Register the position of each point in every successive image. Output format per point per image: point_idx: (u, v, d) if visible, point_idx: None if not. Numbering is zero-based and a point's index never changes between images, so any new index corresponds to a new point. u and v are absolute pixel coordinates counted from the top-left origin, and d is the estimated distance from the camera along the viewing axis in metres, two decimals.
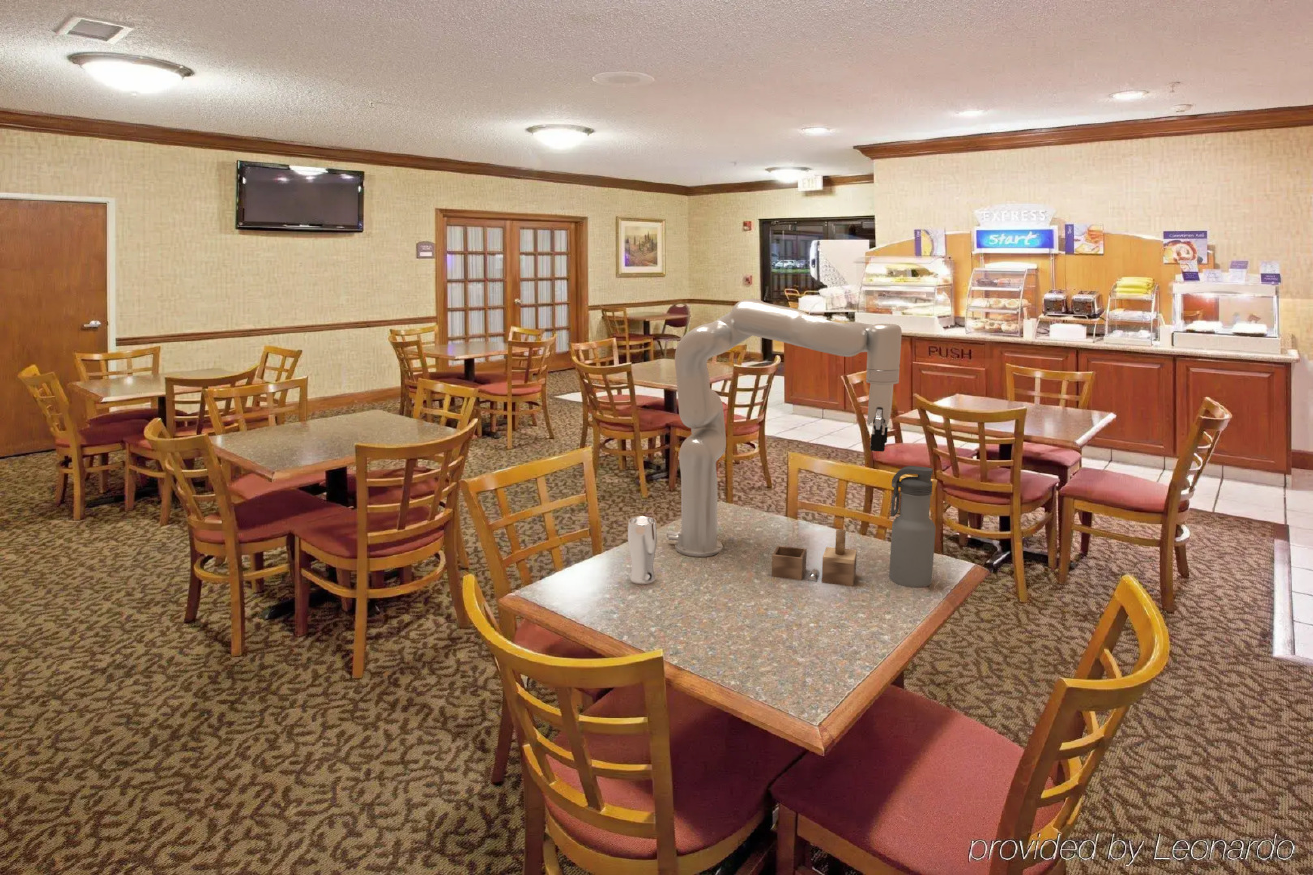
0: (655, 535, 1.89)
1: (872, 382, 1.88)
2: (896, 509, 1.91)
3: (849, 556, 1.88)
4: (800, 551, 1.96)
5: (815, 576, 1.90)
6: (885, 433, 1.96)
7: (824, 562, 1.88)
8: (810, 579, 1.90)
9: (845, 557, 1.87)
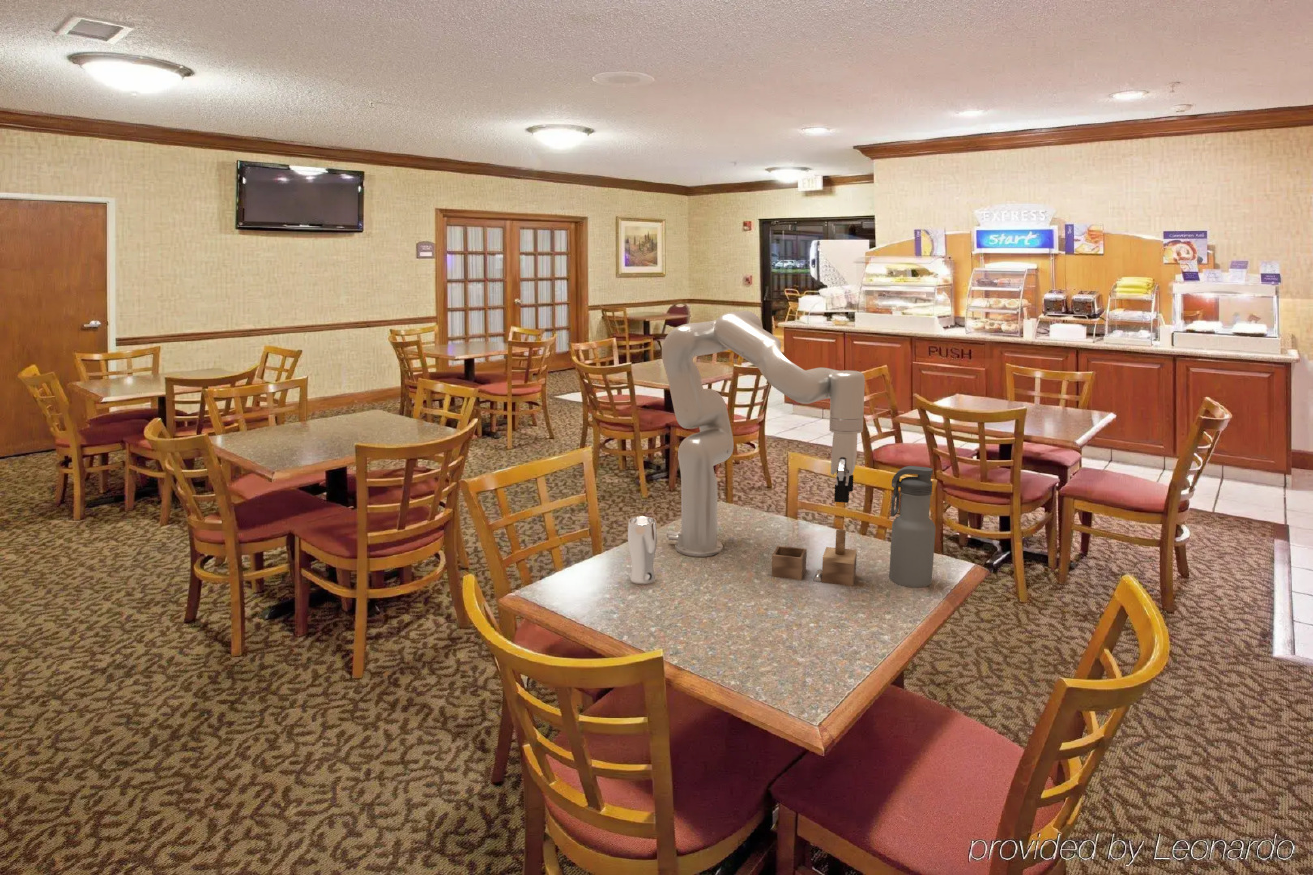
0: (655, 535, 1.89)
1: (835, 431, 1.82)
2: (896, 509, 1.91)
3: (849, 556, 1.88)
4: (800, 551, 1.96)
5: None
6: (851, 481, 1.90)
7: (824, 562, 1.88)
8: (818, 579, 1.89)
9: (845, 557, 1.87)
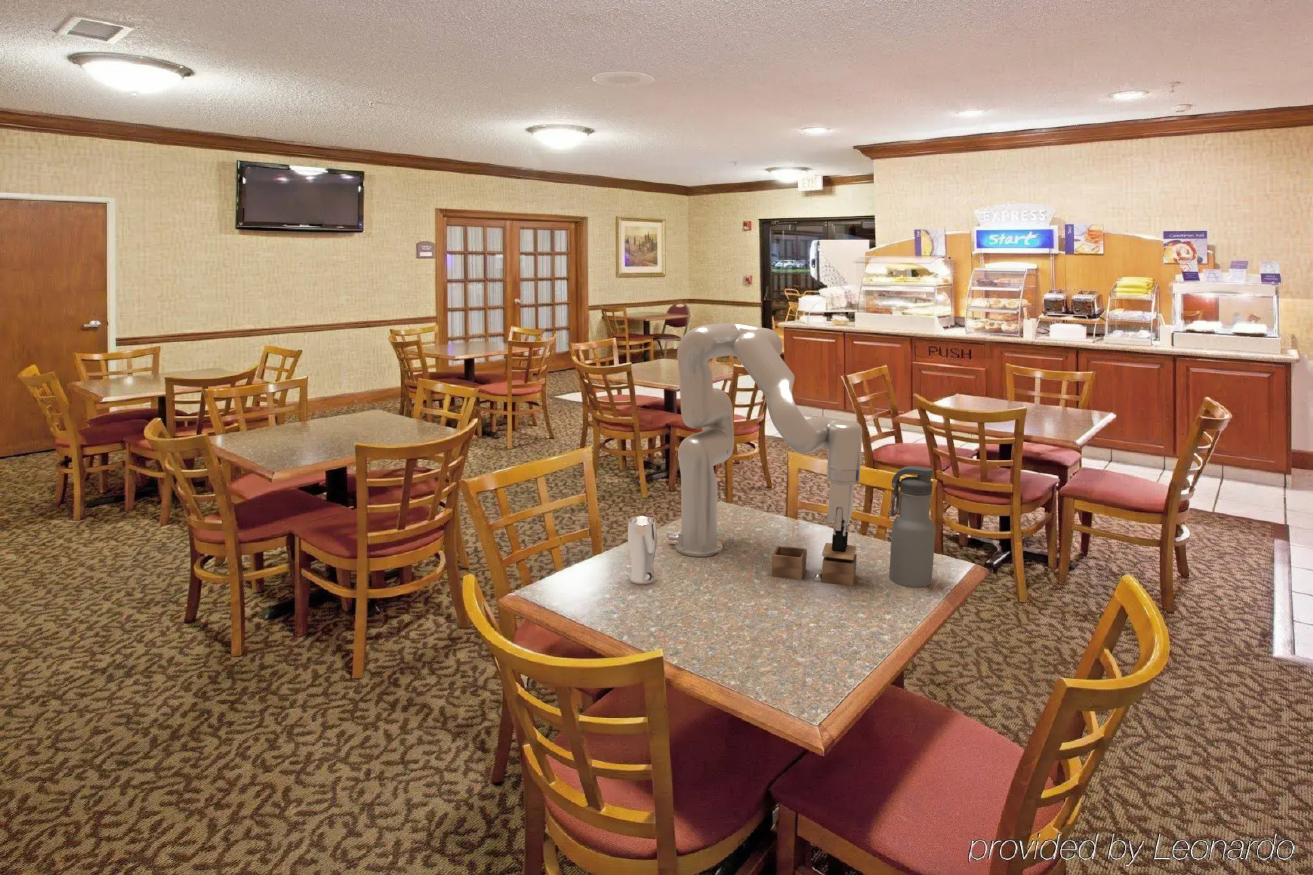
0: (655, 535, 1.89)
1: (832, 481, 1.84)
2: (896, 509, 1.91)
3: (848, 552, 1.88)
4: (800, 551, 1.96)
5: None
6: None
7: (824, 562, 1.88)
8: (818, 579, 1.89)
9: (844, 553, 1.87)
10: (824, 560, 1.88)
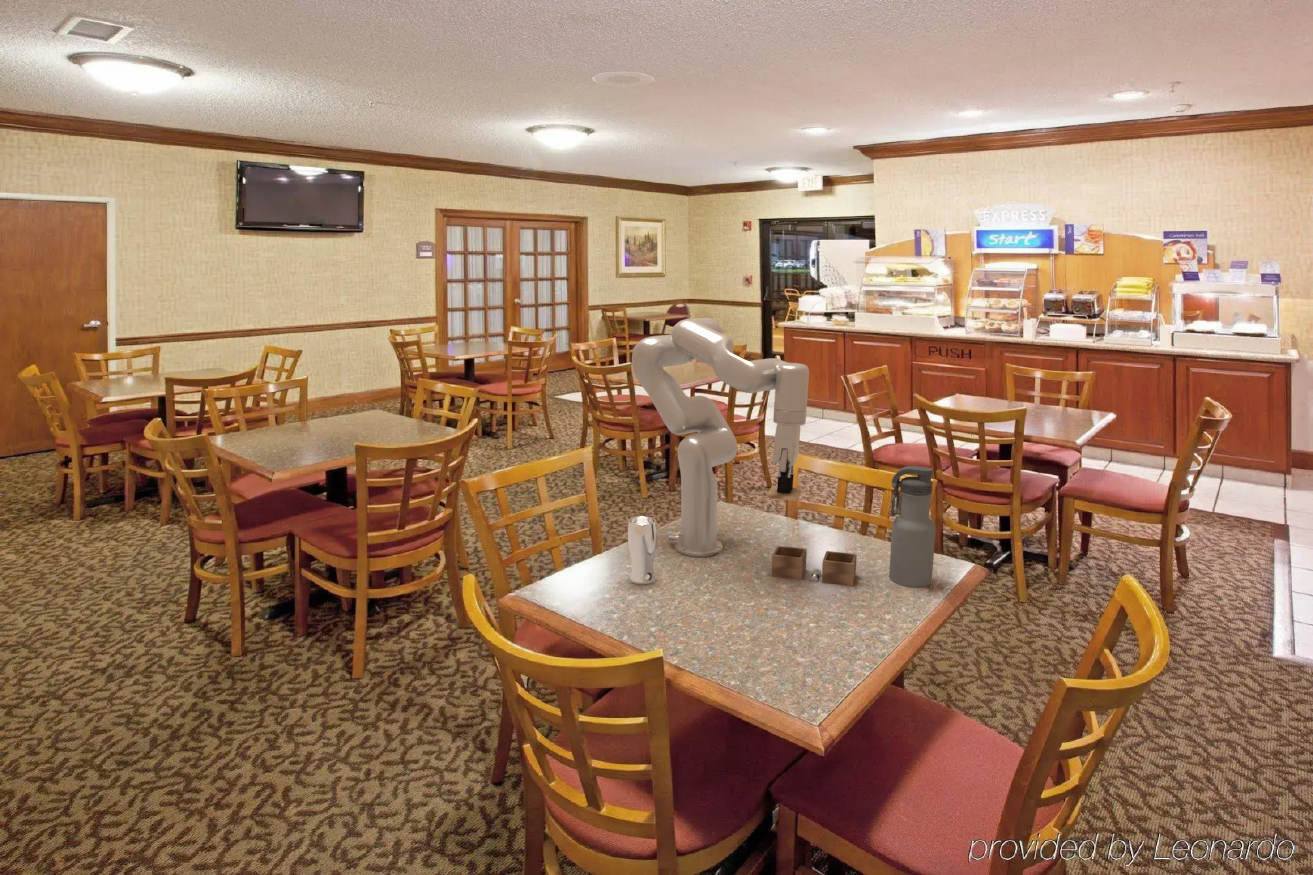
0: (655, 535, 1.89)
1: (778, 422, 1.85)
2: (896, 509, 1.91)
3: (793, 493, 1.89)
4: (800, 551, 1.96)
5: (818, 579, 1.90)
6: None
7: (824, 562, 1.88)
8: (813, 578, 1.90)
9: (789, 494, 1.88)
10: (824, 560, 1.88)
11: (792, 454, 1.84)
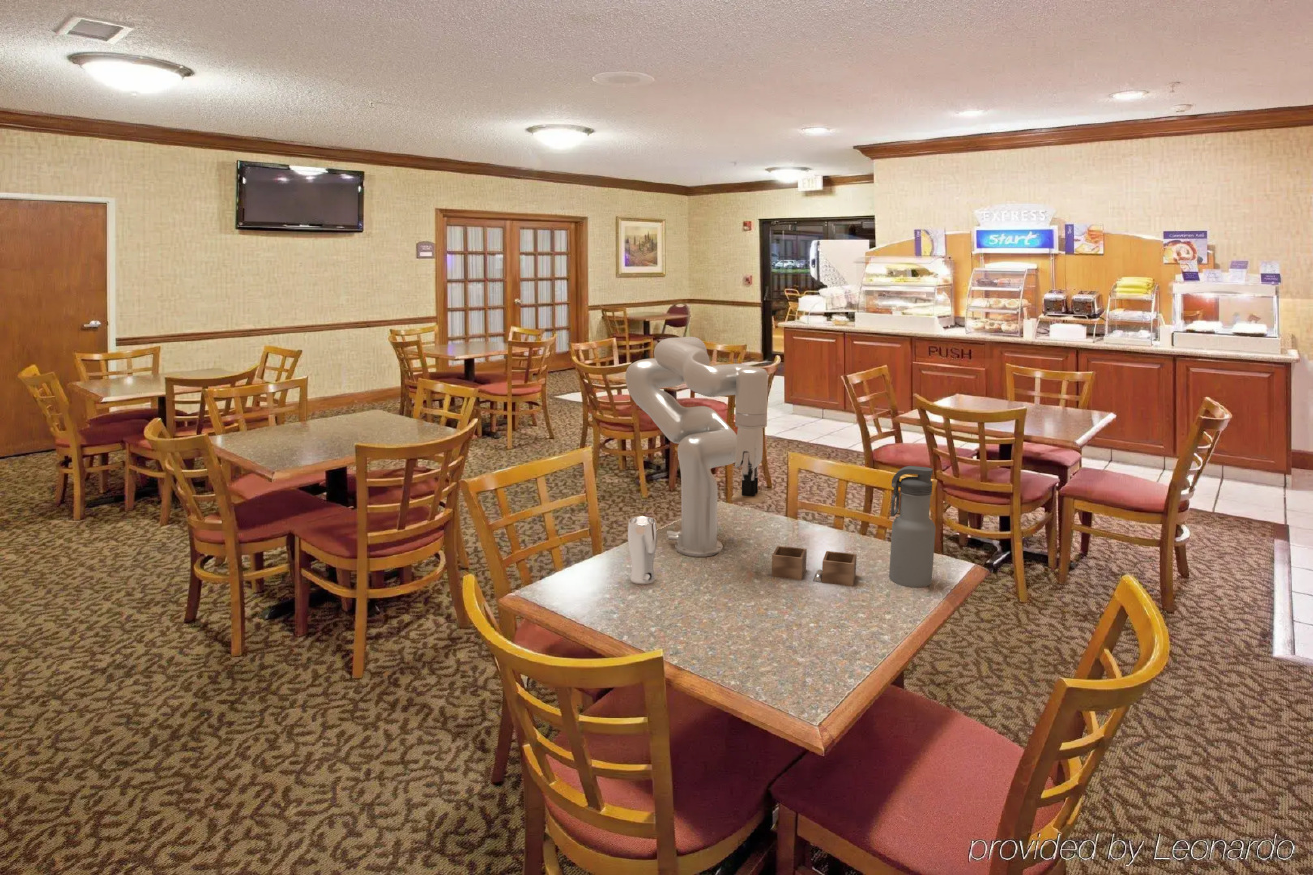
0: (655, 535, 1.89)
1: (739, 426, 1.88)
2: (896, 509, 1.91)
3: (757, 496, 1.91)
4: (800, 551, 1.96)
5: None
6: (755, 483, 1.93)
7: (824, 562, 1.88)
8: (818, 579, 1.89)
9: (753, 497, 1.91)
10: (824, 560, 1.88)
11: (753, 457, 1.86)
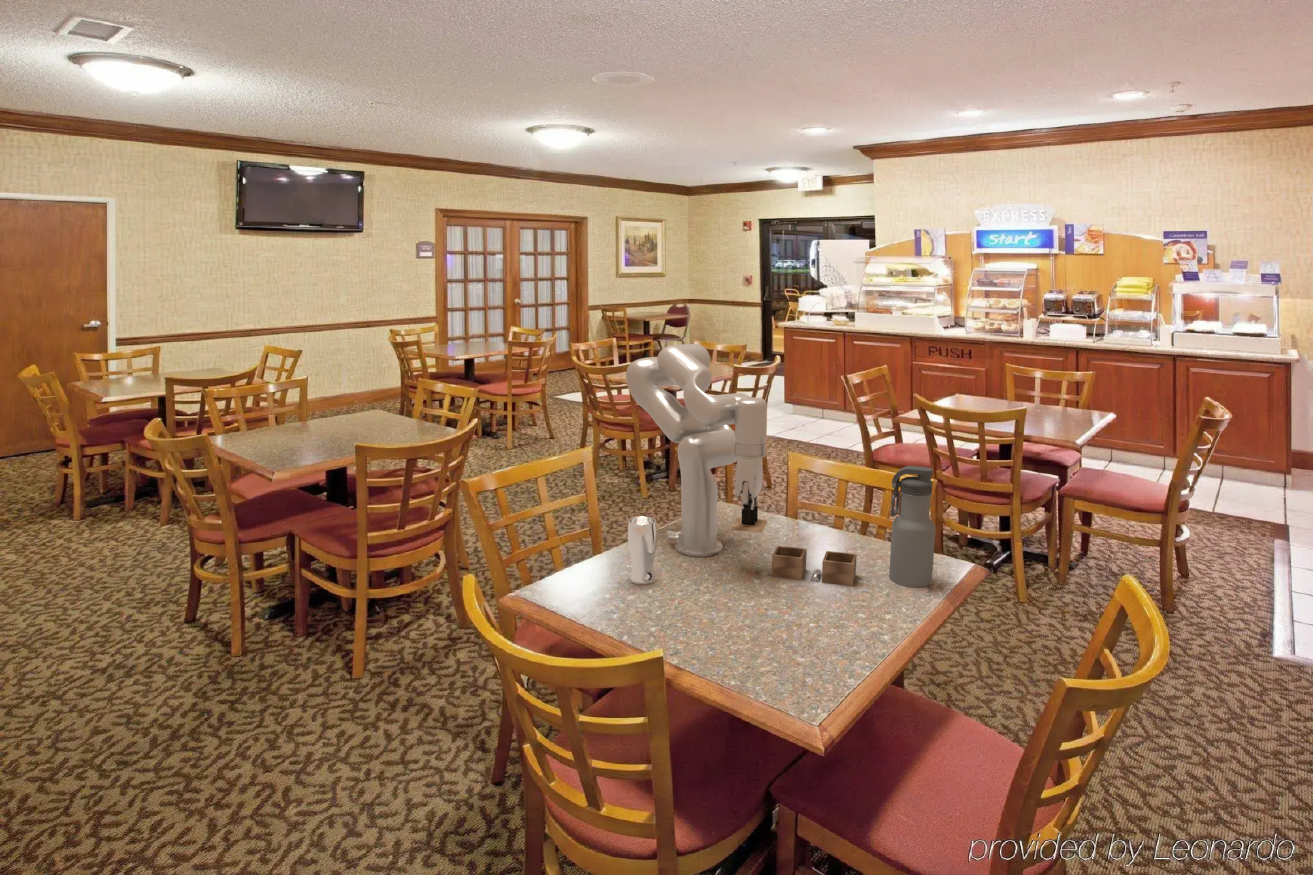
0: (655, 535, 1.89)
1: (739, 456, 1.89)
2: (896, 509, 1.91)
3: (757, 525, 1.93)
4: (800, 551, 1.96)
5: None
6: (755, 512, 1.95)
7: (824, 562, 1.88)
8: (814, 578, 1.90)
9: (753, 526, 1.92)
10: (824, 560, 1.88)
11: (753, 486, 1.88)
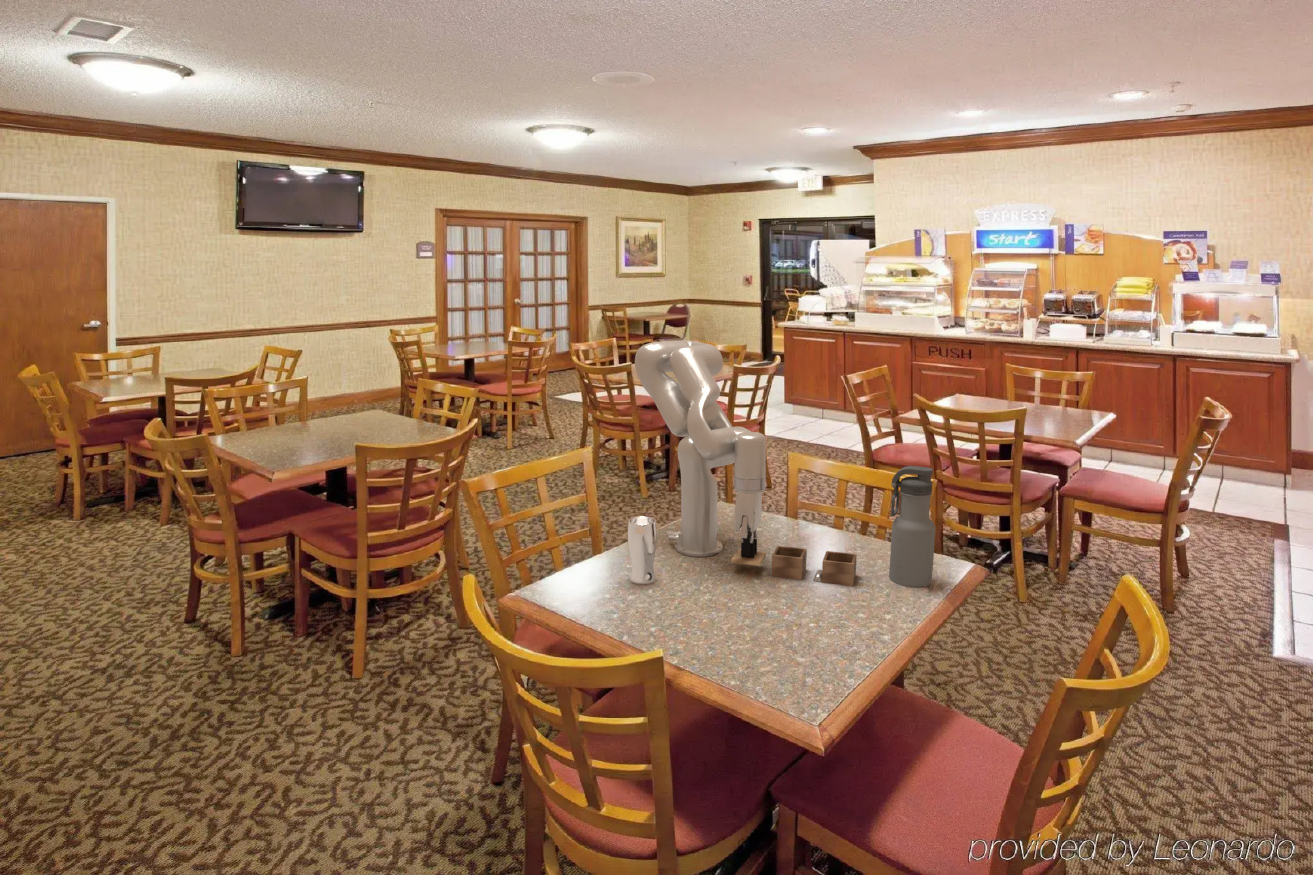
0: (655, 535, 1.89)
1: (738, 490, 1.91)
2: (896, 509, 1.91)
3: (756, 558, 1.94)
4: (800, 551, 1.96)
5: None
6: (754, 545, 1.97)
7: (824, 562, 1.88)
8: (819, 579, 1.89)
9: (752, 559, 1.94)
10: (824, 560, 1.88)
11: (752, 521, 1.89)
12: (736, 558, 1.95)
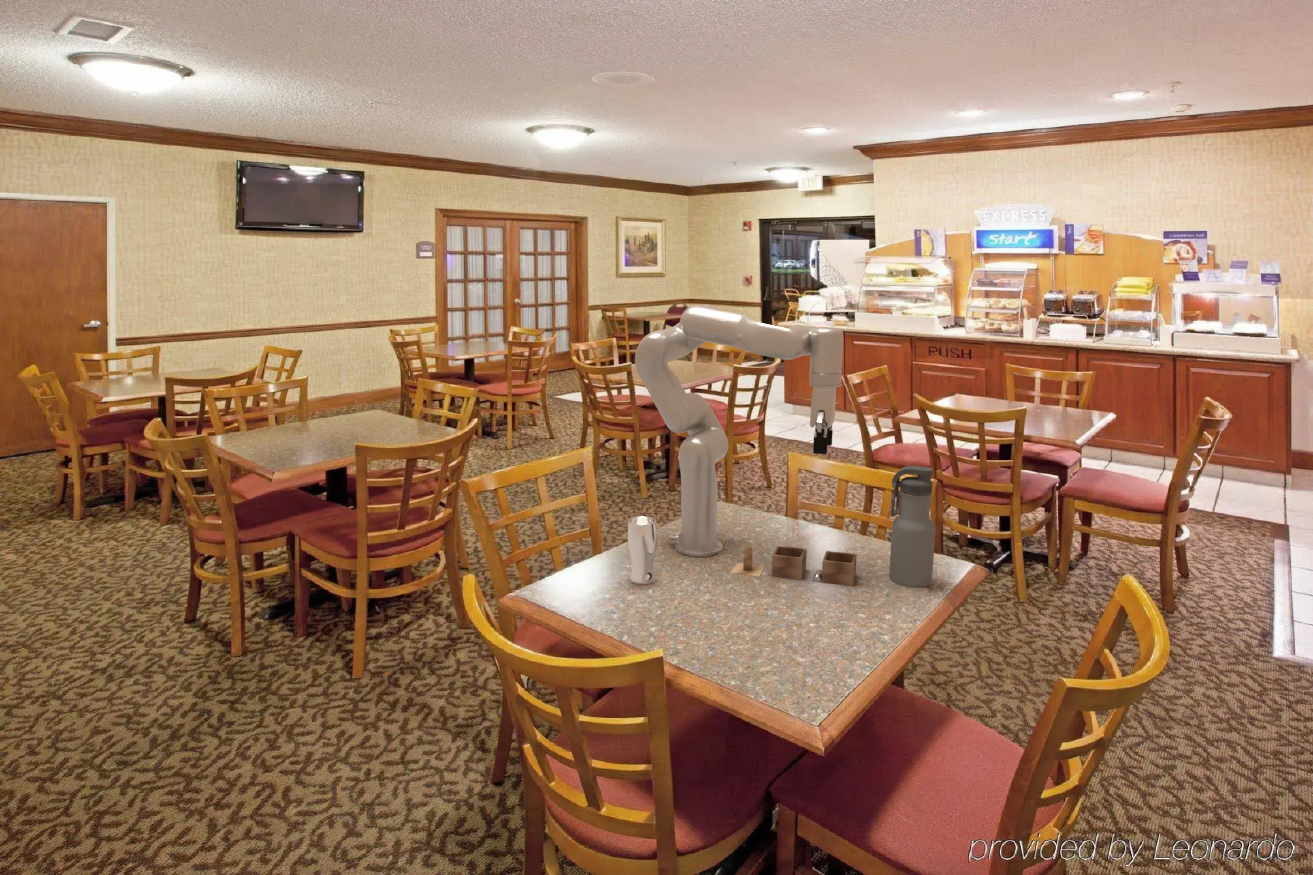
0: (655, 535, 1.89)
1: (814, 385, 1.89)
2: (896, 509, 1.91)
3: (755, 572, 1.96)
4: (800, 551, 1.96)
5: None
6: (830, 436, 1.98)
7: (824, 562, 1.88)
8: (818, 579, 1.89)
9: (751, 573, 1.95)
10: (824, 560, 1.88)
11: (829, 416, 1.88)
12: (735, 572, 1.96)
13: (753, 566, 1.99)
